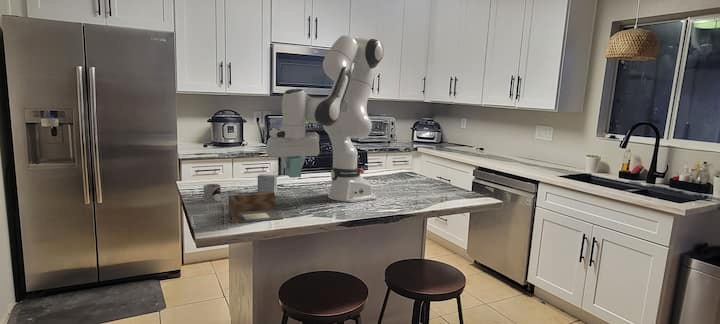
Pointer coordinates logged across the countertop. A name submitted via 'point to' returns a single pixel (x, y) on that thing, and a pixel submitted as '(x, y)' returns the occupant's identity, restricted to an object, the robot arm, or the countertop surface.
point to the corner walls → (250, 203)
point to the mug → (212, 193)
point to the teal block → (293, 167)
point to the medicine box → (267, 183)
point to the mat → (259, 216)
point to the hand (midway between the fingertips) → (293, 168)
